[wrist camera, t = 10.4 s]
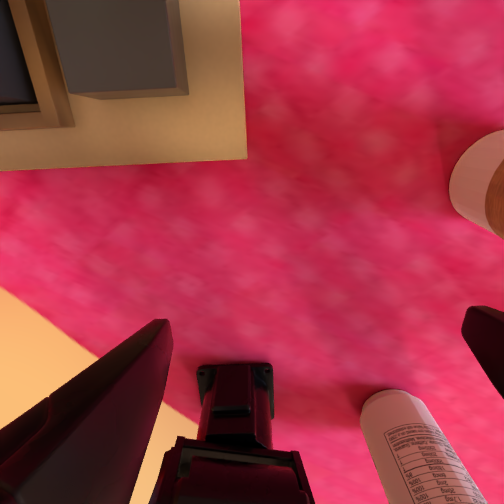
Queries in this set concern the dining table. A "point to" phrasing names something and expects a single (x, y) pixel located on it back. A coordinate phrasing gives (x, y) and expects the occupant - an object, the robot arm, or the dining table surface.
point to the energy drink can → (414, 453)
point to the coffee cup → (481, 183)
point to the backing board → (155, 118)
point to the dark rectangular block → (13, 64)
